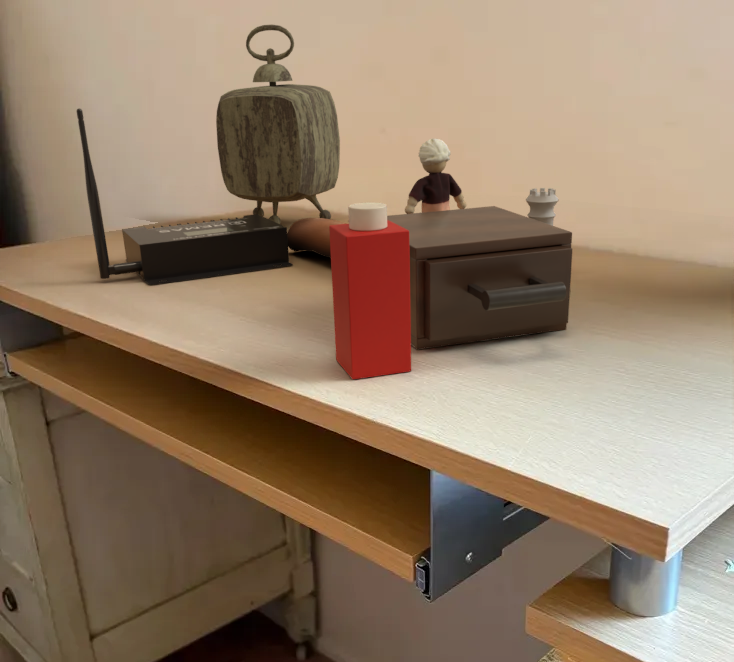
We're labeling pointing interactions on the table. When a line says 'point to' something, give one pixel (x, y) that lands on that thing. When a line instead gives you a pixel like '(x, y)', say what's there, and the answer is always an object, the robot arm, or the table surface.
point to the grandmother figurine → (434, 181)
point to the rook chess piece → (542, 205)
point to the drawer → (496, 291)
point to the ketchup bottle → (371, 292)
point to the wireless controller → (187, 242)
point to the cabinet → (465, 237)
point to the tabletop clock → (278, 137)
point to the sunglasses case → (311, 235)
